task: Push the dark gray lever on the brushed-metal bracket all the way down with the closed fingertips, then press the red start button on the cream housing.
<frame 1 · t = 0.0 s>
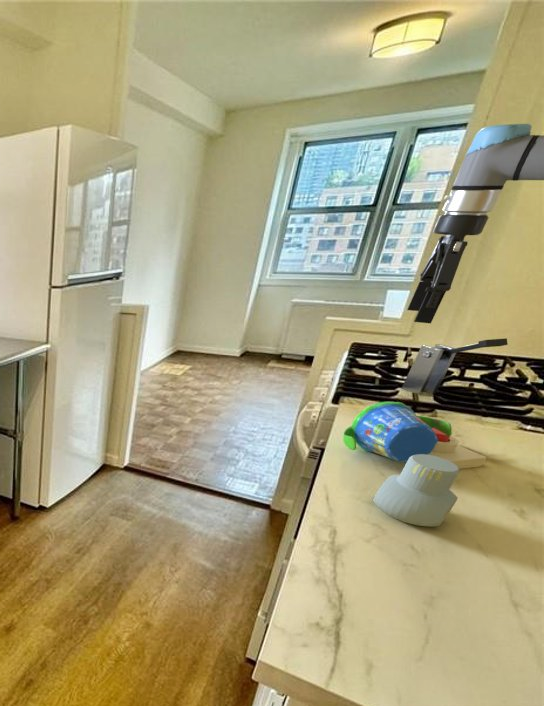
hand: (418, 316, 111), 21 cm above the worktop, tool pointing down, fingers open, 13 cm apart
air freshener: (405, 515, 80), on the worktop
snack cup: (413, 445, 87), point 6 cm above the worktop
dark gray lever: (461, 349, 113), point 14 cm above the worktop, hinge at 30.0°
lever bracket: (415, 396, 123), on the worktop
button housing: (426, 454, 97), on the worktop
start button: (437, 434, 95), point 4 cm above the worktop, slide at 0.1 cm
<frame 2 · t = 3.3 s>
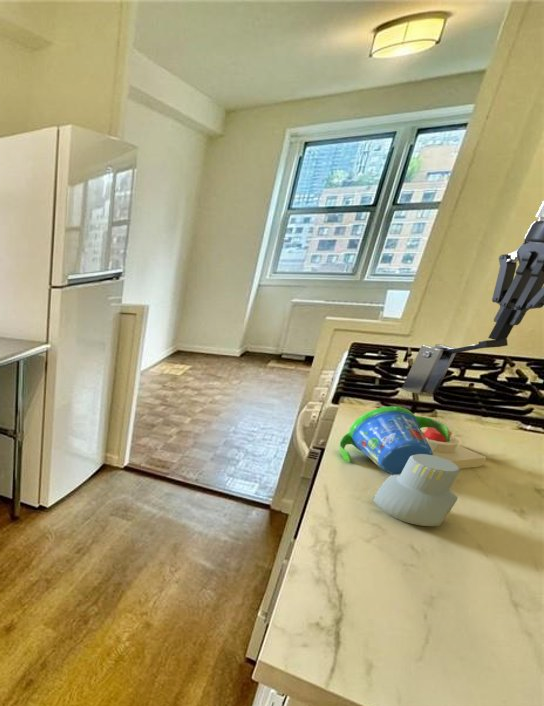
hand: (497, 338, 106), 18 cm above the worktop, tool pointing down, fingers closed
snack cup: (407, 461, 87), point 4 cm above the worktop
dark gray lever: (461, 349, 113), point 14 cm above the worktop, hinge at 29.2°, touching gripper
everything else where it was.
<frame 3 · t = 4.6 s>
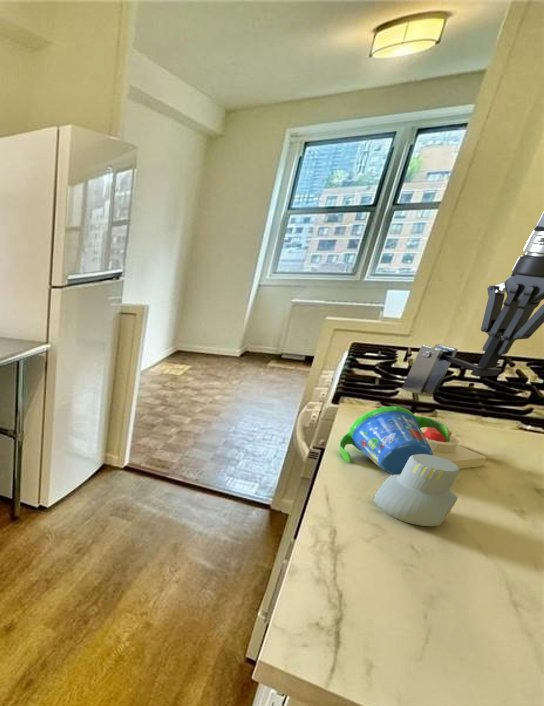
hand: (485, 366, 108), 11 cm above the worktop, tool pointing down, fingers closed
dark gray lever: (458, 362, 113), point 11 cm above the worktop, hinge at -3.6°, touching gripper
everything else where it was.
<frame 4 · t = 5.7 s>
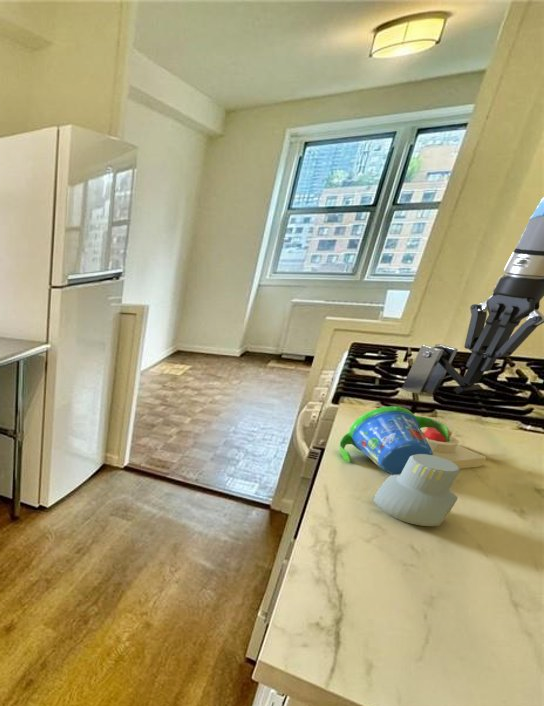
hand: (469, 382, 112), 7 cm above the worktop, tool pointing down, fingers closed
dark gray lever: (450, 370, 115), point 8 cm above the worktop, hinge at -29.5°, touching gripper
everything else where it was.
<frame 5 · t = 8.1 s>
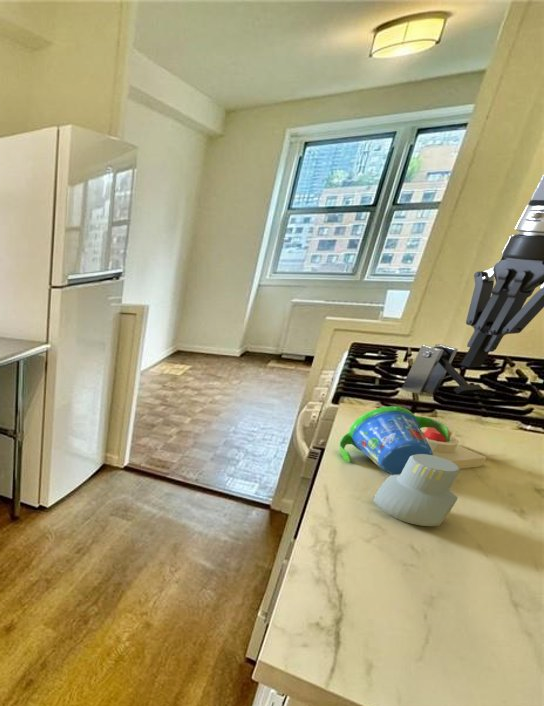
hand: (470, 365, 94), 17 cm above the worktop, tool pointing down, fingers closed
dark gray lever: (450, 370, 115), point 8 cm above the worktop, hinge at -29.6°
everything else where it was.
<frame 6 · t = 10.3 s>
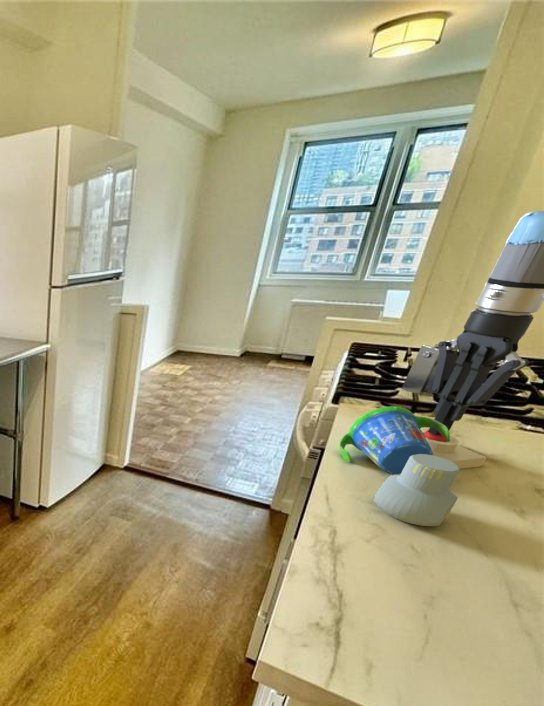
hand: (437, 432, 94), 5 cm above the worktop, tool pointing down, fingers closed
start button: (435, 437, 95), point 4 cm above the worktop, slide at -0.6 cm, touching gripper
everything else where it was.
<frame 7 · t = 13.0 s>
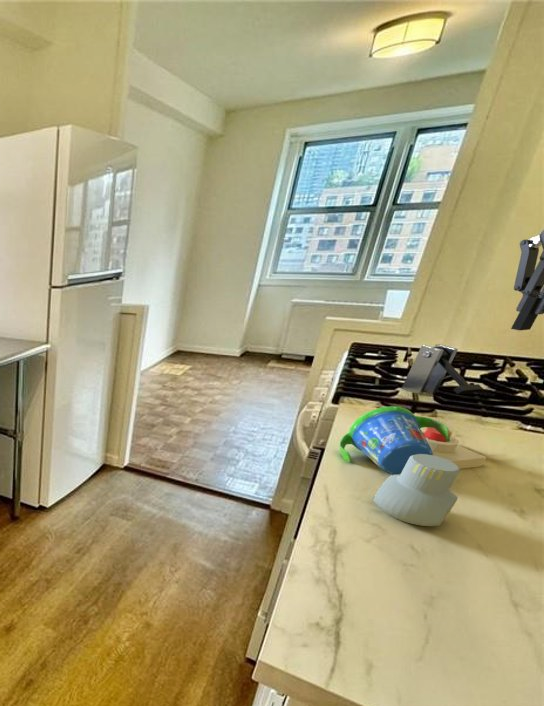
hand: (520, 329, 99), 21 cm above the worktop, tool pointing down, fingers closed
start button: (437, 434, 95), point 4 cm above the worktop, slide at 0.1 cm
everything else where it was.
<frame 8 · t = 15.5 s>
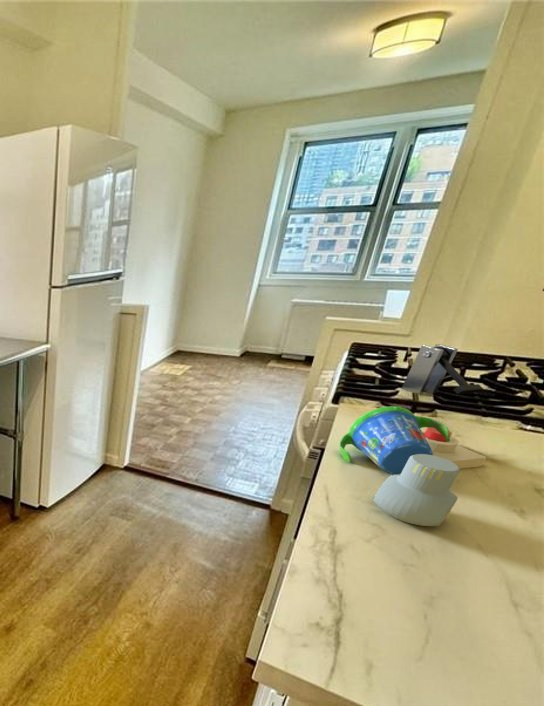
nothing on the worktop moved.
at the end: dark gray lever at -30° (first picture: +30°); start button pushed in 1.0 cm at the most during the clip, back to where it started at the end; start button slide at 0.1 cm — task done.
